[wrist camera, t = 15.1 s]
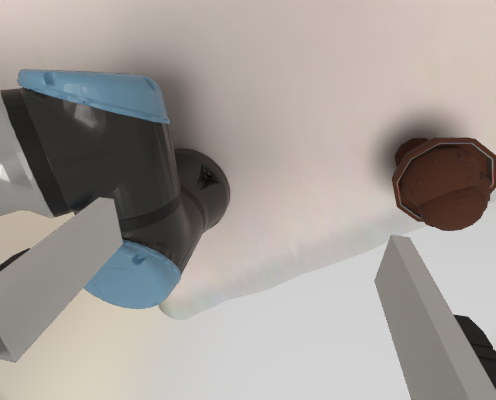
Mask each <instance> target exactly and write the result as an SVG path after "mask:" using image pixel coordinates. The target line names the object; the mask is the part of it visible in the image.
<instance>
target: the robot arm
mask: <svg viewBox="0 0 496 400" xmlns="http://www.w3.org/2000/svg"><path fill="white" fill-rule="evenodd" d="M18 74H19V78H18V80H17V81H18V83H19V85H20V86H23V88H20V89H11V90H0V216H2V215H5V214H9V213H12V212H16V211H19V210H27V211H31V212H34V213H37V214H40V215H43V216H46V217H49V218H54V217H58V216H61V215H64V214H68V213H71V212H74V214H75V216H74V217H72V218H71V219H70V220H68V221H67V222H66V223H64V224H63V225H62V226H60V227H59V228H58V229H57V230H55V231H54V232H52V233H51V234H50V235H49V236H47V237H46V238H44V239H43V240H42V241H40V242H39V243H38V244H36V245H35V246H34V247H32V248H31V249H29V248H28V249H26V250H24V251H22V252H20V253H18V254H16V255H14V256H12V257H11V258H9V259H8V260H7V261H5V262H4V263H2V264H1V265H0V359H1V360H6V361H10V362H17V361H18V359H19V358H20V357H21V356H22V355H23V354H24V353H25V352H26V350H28V348H29V347H30V346H31V345H32V344H33V343H34V342H35V341H36V339H37V338H38V337H39V336H40V335H41V334H42V333H43V332H44V331H45V329H46V328H47V327H48V326H49V325H50V324H51V323H52V322H53V321H54V319H55V318H56V317H57V316H58V315H59V314H60V313H61V312H62V311H63V310H64V308H65V307H66V306H67V305H68V304H69V303H70V302H71V301H72V300H73V298H74V297H75V296H76V295H77V294H78V293H79V292H80V291H81V290H82V288H84V289H85V290H86V291H88V292H89V293H91V294H92V295H94V296H96V297H97V298H100V299H101V300H103V301H106V302H108V303H110V304H113V305H116V306H120V307H124V308H131V309H145V308H150V307H153V306H156V305H158V304H160V303H161V302H163V301H164V300H165V299H166V298H167V297H168V296H169V295H170V293H171V292H172V290H173V289H174V287H175V286H176V285H177V284H178V283H179V281H180V279H181V274H182V272H183V270H184V269H185V267H186V265H187V263H188V261H189V259H190V257H191V255H192V253H193V251H194V249H195V247H196V245H197V243H198V241H199V239H200V238H201V235H202V234H203V233H204V232H205V231H206V230H208V229H210V228H211V227H213V226H214V225H216V224H217V223H218V222H219V221H220V220H221V218H222V217H223V215H224V213H225V211H226V209H227V207H228V204H229V200H230V189H229V184H228V181H227V179H226V177H225V175H224V173H223V172H222V170H221V169H220V168H219V166H218V165H217V164H216V163H215V162H214V161H212V160H211V159H210V158H208V157H207V156H205V155H203V154H201V153H199V152H196V151H193V150H188V149H175V150H174V149H173V143H172V137H171V131H170V125H169V124H170V119H169V118H168V116H167V112H166V108H165V104H164V100H163V96H162V92H161V89H160V87H159V85H158V84H157V83H156V82H155V81H154V80H153V79H152V78H150V77H148V76H145V75H139V74H124V73H104V72H85V71H63V70H36V69H23V70H21V71H20V72H19V73H18ZM375 284H376V288H377V291H378V294H379V297H380V300H381V303H382V307H383V310H384V313H385V316H386V320H387V323H388V326H389V329H390V332H391V335H392V339H393V342H394V345H395V349H396V352H397V355H398V358H399V361H400V365H401V368H402V371H403V374H404V377H405V381H406V384H407V387H408V390H409V394H410V397H411V400H496V351H495V350H493V346H492V345H491V343H490V342H489V340H488V339H487V337H486V335H485V334H484V332H483V331H482V330H481V329H480V328H479V327H478V326H477V325H476V324H475V323H474V322H473V321H472V320H471V319H470V318H469V317H465V316H459V315H453V313H452V312H451V310H450V308H449V306H448V305H447V303H446V301H445V299H444V298H443V296H442V294H441V292H440V290H439V289H438V287H437V285H436V283H435V282H434V280H433V278H432V276H431V274H430V273H429V271H428V269H427V268H426V266H425V264H424V262H423V260H422V259H421V257H420V255H419V253H418V251H417V250H416V248H415V246H414V244H413V243H412V241H411V239H410V238H409V237H403V236H396V235H391V236H390V239H389V242H388V245H387V248H386V250H385V253H384V256H383V259H382V261H381V264H380V267H379V270H378V272H377V276H376V278H375Z"/></svg>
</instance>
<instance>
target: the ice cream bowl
mask: <svg viewBox="0 0 496 400" xmlns="http://www.w3.org/2000/svg"><path fill="white" fill-rule="evenodd" d="M395 160H396V166H397V167H398V168H397V170H396V171H395V173H394V175H393V177H392V182H393V188H394V193H395V199H396V204H397V207H398V208H399V209H401V210H402V211H403V212H405V213H406V214H408V215H409V216H411V217H412V218H413V219H415V220H416V221H419V222H425V224H427V225H429V226H432V227H436V228H438V229H440V230H444V231H454V230H461V229H463V228H466V227H468V226H471V225H473V224H474V223H475V222H476V221H477V220H479V219H480V218H481V216H482V214H483V212H484V211H485V210H486V208H487V204H488V201H490V194H491V193H492V191H493V190H494V189H495V188H496V155H495V154H493V153H492V152H491V151H490V150H488V149H487V148H486V147H485V146H483V145H482V144H481V143H479V142H478V141H477V140H476V139H472V138H433V139H430V140H428V139H427V138H413V139H411V140H409V141H408V142H406V143H404V144H403V145H401V146H400V148H399V150H398V152H397V153H396V155H395Z"/></svg>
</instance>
